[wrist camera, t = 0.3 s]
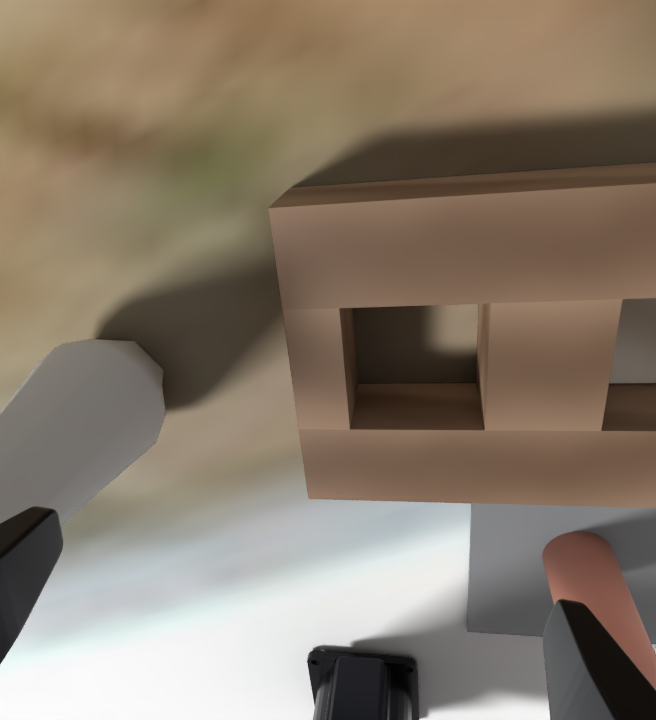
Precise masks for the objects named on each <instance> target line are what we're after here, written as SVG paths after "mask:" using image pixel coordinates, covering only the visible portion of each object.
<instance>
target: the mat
mask: <svg viewBox="0 0 656 720" xmlns="http://www.w3.org/2000/svg"><path fill="white" fill-rule="evenodd" d="M576 531H582V532H590V533H593V534H596V535H599V536H601V537H602V538H604V539H605V540H606V541H607V542H608V543H609V544H610V546H611V547H612V550H613V552H614V555H615V557H616V559H617V562H618V564H619V567H620V569H621V572H622V574H623V577H624V579H625V581H626V584H627V586H628V589H629V591H630V594H631V596H632V598H633V601H634V603H635V606H636V608H637V611H638V613H639V615H640V618H641V620H642V623H643V625H644V628H645V630H646V633H647V635H648V637H649V640H650V642H651V644H656V508H630V507H592V506H555V505H518V504H481V503H471V530H470V558H469V586H468V614H467V632H480V633H495V634H511V635H526V636H541V637H543V635H544V630H545V627H546V624H547V622H548V620H549V617H550V615H551V612H552V610H553V607H554V603H553V599H552V595H551V591H550V587H549V583H548V579H547V576H546V572H545V568H544V564H543V560H542V554H543V550H544V548H545V546H546V545H547V544H548V543H549V542H550V541H551V540H552V539H554V538H555V537H557V536H559V535H562V534H565V533H569V532H576Z"/></svg>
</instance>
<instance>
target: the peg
mask: <svg viewBox="0 0 656 720" xmlns="http://www.w3.org/2000/svg"><path fill="white" fill-rule="evenodd" d="M542 560H543V564H544V568H545V572H546V576H547V579H548V583H549V587H550V591H551V595H552V599H553V603H554V605H555V603H556V601H557V600H559V599H567V600H572V601H578V602H582V603H584V604H585V605H586V606H587V607H588V608H589V609H590V610H591V612H592V613H593V614H594V615H595V616H596V618H597V619H598V620H599V621H600V623H601V624H602V625H603V626H604V627H605V629H606V630H607V631H608V632H609V633H610V635H611V636H612V637H613V638H614V640H615V641H616V642H617V643H618V644H619V646H620V647H621V648H622V649H623V650H624V652H625V653H626V654H627V655H628V656H629V658H630V659H631V660H632V661H633V663H634V664H635V665H636V666H637V667H638V669H639V670H640V671H641V672H642V673H643V675H644V676H645V677H646V678H647V679H648V681H649V682H650V683H651V684H652V686H653V687H654V688H655V689H656V654H655V652H654V650H653V647H652V645H651V642H650V640H649V637H648V635H647V633H646V630H645V628H644V625H643V623H642V620H641V618H640V615H639V613H638V611H637V608H636V606H635V603H634V601H633V598H632V596H631V594H630V591H629V589H628V586H627V584H626V581H625V579H624V577H623V574H622V572H621V569H620V567H619V564H618V562H617V559H616V557H615V555H614V552H613V550H612V547H611V546H610V544H609V543H608V542H607V541H606V540H605V539H604V538H602V537H601V536H599V535H596V534H593V533H590V532H582V531H576V532H569V533H565V534H562V535H559V536H557V537H555V538H554V539H552V540H551V541H550V542H549V543H548V544H547V545H546V546H545V548H544V550H543V554H542Z"/></svg>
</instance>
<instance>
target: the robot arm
mask: <svg viewBox="0 0 656 720" xmlns="http://www.w3.org/2000/svg"><path fill="white" fill-rule="evenodd" d="M62 548H63V537H62V531H61V526H60V520H59V515H58V513H57V511H56V510H54V509H51V508H46V507H40V506H33V507H30V508H28V509H26V510H24V511H22V512H21V513H19V514H17V515H15V516H13V517H11V518H9V519H7V520H5V521H4V522H2V523H0V664H1V662H2V661H3V659H4V658H5V656H6V655H7V653H8V651H9V650H10V648H11V647H12V645H13V644H14V642H15V640H16V639H17V637H18V635H19V634H20V632H21V630H22V628H23V626H24V625H25V623H26V621H27V619H28V617H29V615H30V613H31V611H32V609H33V607H34V605H35V603H36V601H37V600H38V598H39V596H40V594H41V592H42V590H43V588H44V586H45V584H46V582H47V580H48V578H49V576H50V574H51V572H52V570H53V568H54V566H55V564H56V562H57V560H58V559H59V557H60V554H61V552H62ZM543 647H544V657H545V668H546V678H547V688H548V699H549V709H550V720H656V689H655V688H654V687H653V686H652V684H651V683H650V682H649V681H648V679H647V678H646V677H645V676H644V675H643V673H642V672H641V671H640V670H639V669H638V667H637V666H636V665H635V664H634V663H633V661H632V660H631V659H630V658H629V656H628V655H627V654H626V653H625V652H624V650H623V649H622V648H621V647H620V646H619V644H618V643H617V642H616V641H615V640H614V638H613V637H612V636H611V635H610V633H609V632H608V631H607V630H606V629H605V627H604V626H603V625H602V624H601V623H600V621H599V620H598V619H597V618H596V616H595V615H594V614H593V613H592V612H591V610H590V609H589V608H588V607H587V606H586V605H585V604H584V603H582V602H578V601H572V600H567V599H559V600H557V601H556V603H555V605H554V607H553V610H552V612H551V615H550V617H549V620H548V622H547V624H546V627H545V630H544V635H543ZM307 663H308V669H309V675H310V680H311V686H312V692H313V698H314V704H315V710H314V716H313V720H419V698H418V664H417V661H416V660H414V659H412V658H405V657H392V656H378V655H365V654H351V653H338V652H324V651H312V652H310V653H309V655H308V661H307Z"/></svg>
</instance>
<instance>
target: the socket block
mask: <svg viewBox="0 0 656 720" xmlns="http://www.w3.org/2000/svg"><path fill="white" fill-rule="evenodd" d="M268 210H269V218H270V225H271V232H272V239H273V246H274V254H275V261H276V268H277V275H278V283H279V290H280V297H281V304H282V311H283V319H284V326H285V333H286V340H287V347H288V355H289V362H290V369H291V376H292V383H293V391H294V398H295V405H296V412H297V419H298V427H299V434H300V441H301V448H302V455H303V463H304V470H305V477H306V484H307V491H308V499H333V500H370V501H407V502H444V503H481V504H518V505H555V506H592V507H630V508H656V162H649V163H635V164H621V165H607V166H593V167H578V168H564V169H550V170H536V171H522V172H507V173H493V174H479V175H465V176H450V177H436V178H422V179H408V180H394V181H379V182H365V183H351V184H337V185H323V186H308V187H294V188H290V189H288V190H287V191H286V192H285V193H284V194H283V195H282V196H281V197H280V198H279V199H278V200H276V201H275V202H274V203H273V204H272V205H271V206H270V207H269V208H268ZM456 304H479V307H478V335H477V362H476V383H414V384H358V373H357V360H356V347H355V333H354V320H353V308H362V307H393V306H424V305H456Z"/></svg>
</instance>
